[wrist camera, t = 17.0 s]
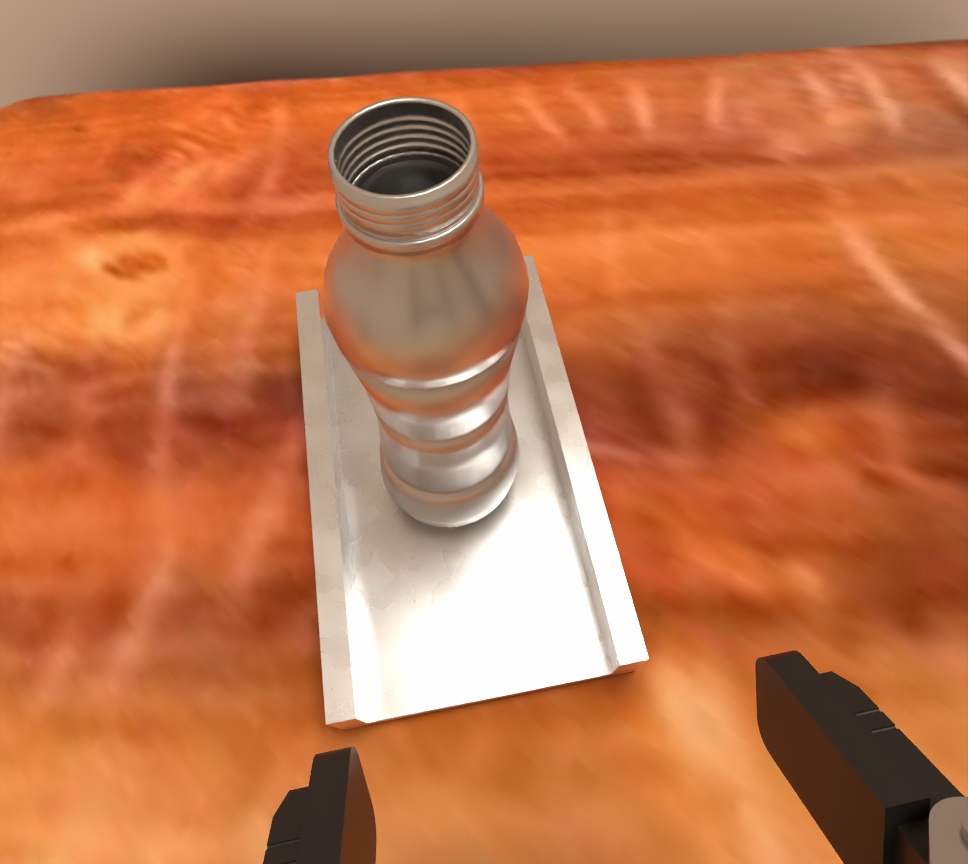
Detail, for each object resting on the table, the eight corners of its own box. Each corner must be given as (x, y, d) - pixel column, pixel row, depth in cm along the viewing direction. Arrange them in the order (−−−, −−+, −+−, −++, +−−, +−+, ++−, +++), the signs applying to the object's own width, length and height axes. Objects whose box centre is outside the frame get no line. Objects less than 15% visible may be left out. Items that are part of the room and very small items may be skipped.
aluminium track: (633, 671, 30) (648, 659, 27) (344, 730, 29) (325, 724, 26) (529, 295, 40) (532, 254, 37) (311, 330, 39) (295, 292, 36)
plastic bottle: (361, 482, 34) (207, 155, 16) (455, 397, 36) (411, 27, 18) (452, 568, 32) (388, 300, 14) (545, 472, 34) (594, 135, 16)
